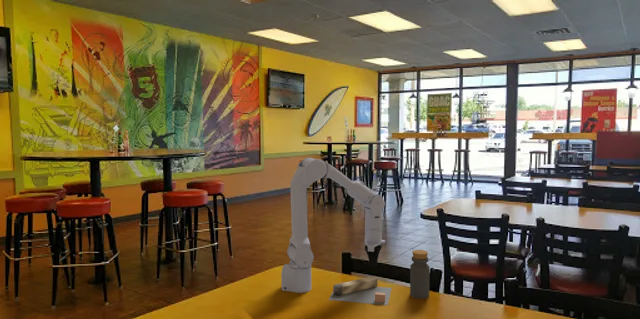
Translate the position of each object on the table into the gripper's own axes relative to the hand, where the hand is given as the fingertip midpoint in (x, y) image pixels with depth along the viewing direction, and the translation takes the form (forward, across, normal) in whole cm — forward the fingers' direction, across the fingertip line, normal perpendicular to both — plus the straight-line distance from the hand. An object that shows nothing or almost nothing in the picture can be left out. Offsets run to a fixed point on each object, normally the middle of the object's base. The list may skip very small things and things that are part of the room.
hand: (373, 266), depth 152 cm
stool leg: (+4, -12, +5) cm, 14 cm away
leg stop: (+4, -20, -4) cm, 21 cm away
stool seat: (+5, -15, +2) cm, 16 cm away
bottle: (+6, -12, -16) cm, 21 cm away
